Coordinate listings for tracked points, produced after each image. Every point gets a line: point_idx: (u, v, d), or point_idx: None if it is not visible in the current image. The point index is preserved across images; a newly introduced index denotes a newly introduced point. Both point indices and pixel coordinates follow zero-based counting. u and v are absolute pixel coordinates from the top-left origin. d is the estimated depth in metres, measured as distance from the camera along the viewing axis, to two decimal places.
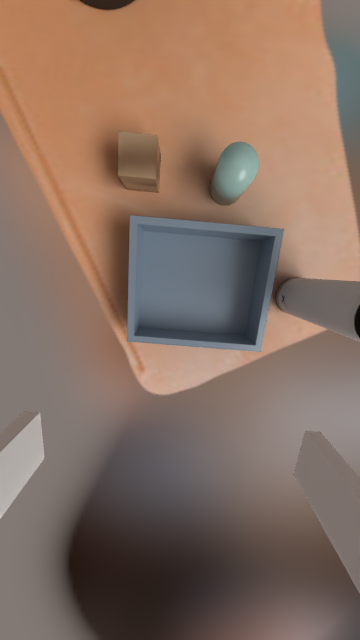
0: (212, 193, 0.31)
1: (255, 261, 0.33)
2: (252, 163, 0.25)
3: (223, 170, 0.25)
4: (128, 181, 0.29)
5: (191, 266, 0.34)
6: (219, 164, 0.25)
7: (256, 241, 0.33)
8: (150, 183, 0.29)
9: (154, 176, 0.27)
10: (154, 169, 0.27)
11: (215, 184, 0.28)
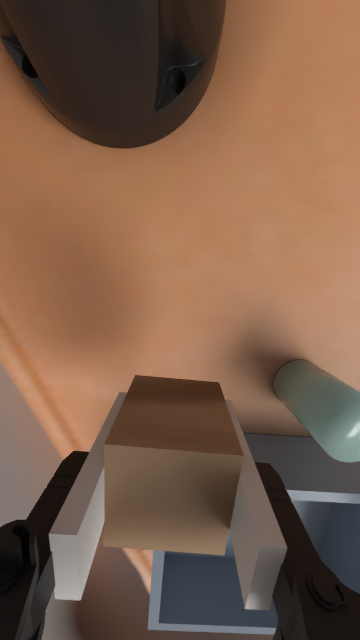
0: (279, 397, 0.20)
1: None
2: None
3: (329, 440, 0.14)
4: None
5: None
6: (323, 432, 0.14)
7: None
8: None
9: (222, 547, 0.08)
10: (224, 536, 0.08)
11: (297, 417, 0.17)
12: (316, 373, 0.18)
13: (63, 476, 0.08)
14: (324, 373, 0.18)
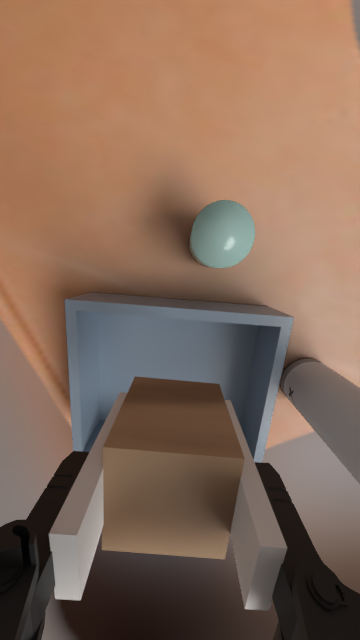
0: (192, 255, 0.22)
1: (253, 340, 0.25)
2: (244, 230, 0.16)
3: (200, 244, 0.16)
4: None
5: (165, 347, 0.25)
6: (193, 236, 0.16)
7: None
8: None
9: (222, 550, 0.08)
10: (225, 539, 0.08)
11: (193, 252, 0.19)
12: None
13: (63, 476, 0.08)
14: None
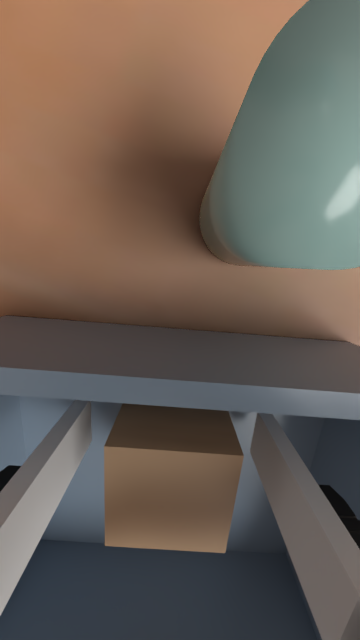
0: (209, 244, 0.10)
1: None
2: None
3: (270, 189, 0.04)
4: None
5: None
6: (243, 158, 0.04)
7: None
8: None
9: None
10: (225, 534, 0.08)
11: (221, 234, 0.07)
12: None
13: None
14: None
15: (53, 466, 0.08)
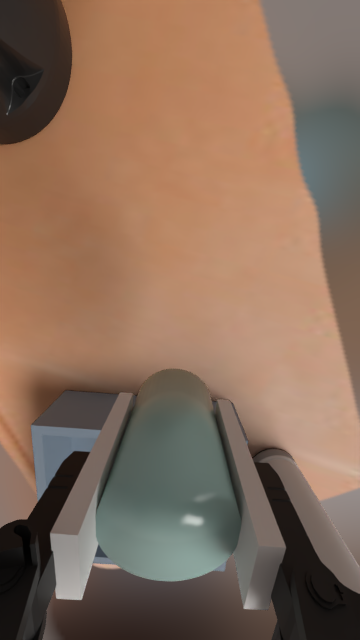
0: None
1: None
2: (212, 511, 0.07)
3: (126, 554, 0.07)
4: None
5: None
6: (104, 546, 0.07)
7: None
8: None
9: None
10: None
11: None
12: (147, 401, 0.10)
13: (64, 476, 0.08)
14: (160, 397, 0.10)
15: (114, 451, 0.09)
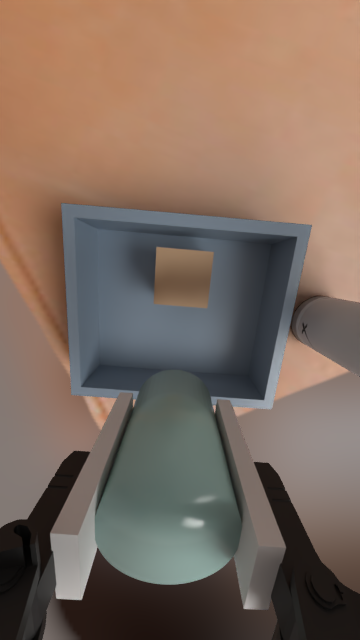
0: None
1: (263, 273, 0.23)
2: (212, 513, 0.07)
3: (125, 558, 0.07)
4: None
5: None
6: (104, 549, 0.07)
7: (265, 244, 0.22)
8: None
9: (206, 304, 0.19)
10: (207, 296, 0.19)
11: None
12: (147, 402, 0.10)
13: (64, 476, 0.08)
14: (160, 398, 0.10)
15: (114, 452, 0.09)
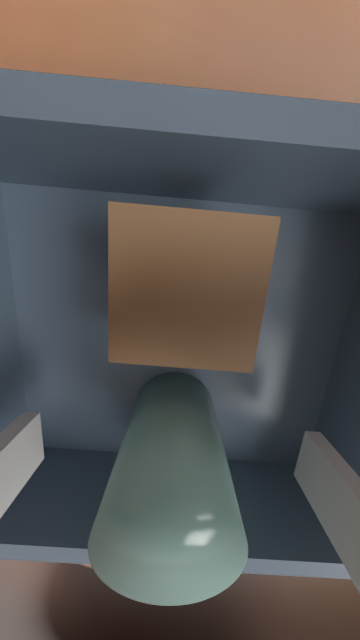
0: None
1: (351, 277, 0.11)
2: (216, 534, 0.06)
3: (123, 579, 0.07)
4: None
5: None
6: (99, 570, 0.07)
7: None
8: None
9: (250, 363, 0.07)
10: (254, 343, 0.07)
11: None
12: (146, 409, 0.10)
13: None
14: (159, 404, 0.10)
15: None
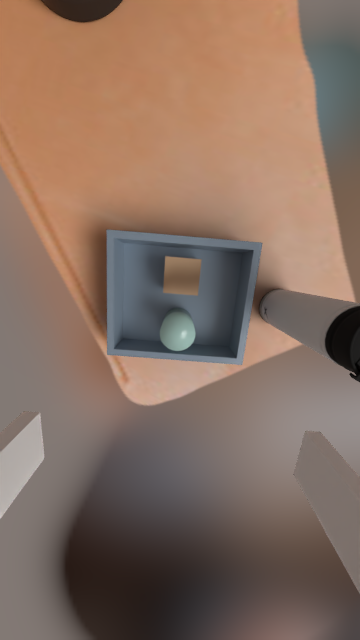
0: None
1: (237, 273, 0.33)
2: (188, 328, 0.28)
3: (167, 342, 0.29)
4: None
5: None
6: (161, 339, 0.29)
7: (238, 253, 0.32)
8: None
9: (197, 293, 0.29)
10: (197, 287, 0.29)
11: None
12: (169, 313, 0.32)
13: None
14: (174, 311, 0.32)
15: None
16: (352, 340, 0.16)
